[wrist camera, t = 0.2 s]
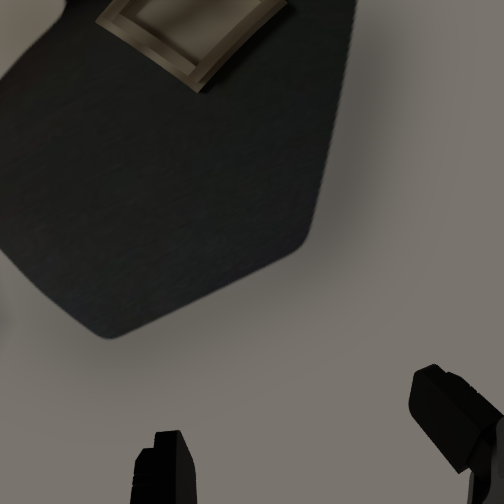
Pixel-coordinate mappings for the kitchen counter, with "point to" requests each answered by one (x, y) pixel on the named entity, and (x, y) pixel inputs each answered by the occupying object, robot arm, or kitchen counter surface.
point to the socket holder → (188, 31)
